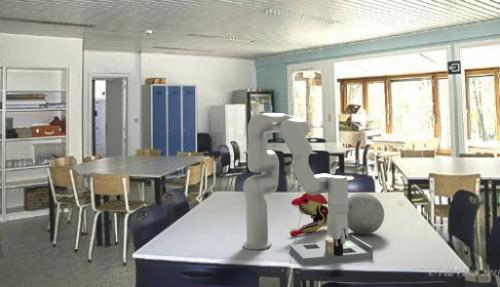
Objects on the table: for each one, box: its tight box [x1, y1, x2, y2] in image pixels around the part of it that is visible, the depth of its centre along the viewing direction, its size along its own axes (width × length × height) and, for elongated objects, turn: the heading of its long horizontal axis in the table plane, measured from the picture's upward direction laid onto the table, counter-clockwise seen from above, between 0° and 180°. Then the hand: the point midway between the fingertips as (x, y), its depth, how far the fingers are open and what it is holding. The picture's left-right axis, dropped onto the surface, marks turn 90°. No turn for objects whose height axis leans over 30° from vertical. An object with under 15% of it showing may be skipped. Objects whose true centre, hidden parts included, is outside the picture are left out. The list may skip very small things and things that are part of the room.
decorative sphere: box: [347, 192, 385, 235], centre depth 202 cm, size 20×20×20 cm
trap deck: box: [289, 235, 374, 265], centre depth 172 cm, size 18×29×4 cm, turn 101°
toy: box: [289, 192, 328, 238], centre depth 207 cm, size 7×27×20 cm, turn 127°
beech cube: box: [324, 237, 334, 255], centre depth 167 cm, size 5×5×5 cm
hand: (338, 255), depth 160 cm, fingers closed
